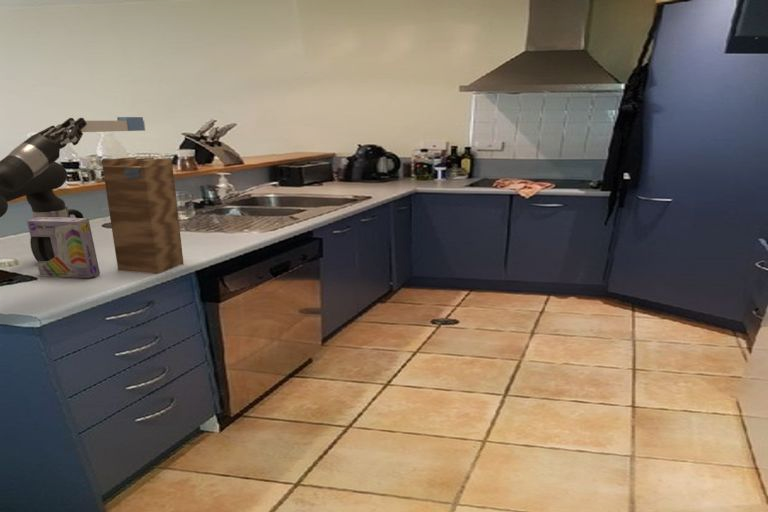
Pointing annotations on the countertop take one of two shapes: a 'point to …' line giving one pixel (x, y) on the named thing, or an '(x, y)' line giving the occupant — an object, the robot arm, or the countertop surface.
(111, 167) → the wood grain block
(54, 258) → the cake pan box
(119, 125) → the cream and blue bar
